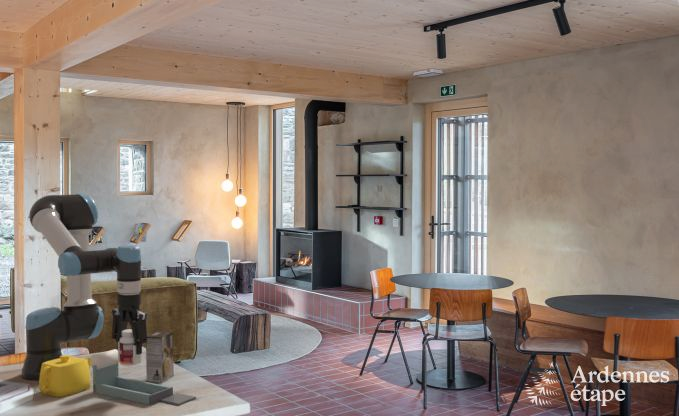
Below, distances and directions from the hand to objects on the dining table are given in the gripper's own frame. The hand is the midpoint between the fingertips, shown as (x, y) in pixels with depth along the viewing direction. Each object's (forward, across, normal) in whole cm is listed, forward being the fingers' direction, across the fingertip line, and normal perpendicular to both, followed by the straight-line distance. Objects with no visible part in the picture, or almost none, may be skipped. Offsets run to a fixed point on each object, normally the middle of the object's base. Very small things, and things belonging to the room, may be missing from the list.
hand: (129, 362), depth 242 cm
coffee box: (+11, -3, +18) cm, 21 cm away
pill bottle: (+1, 0, 0) cm, 1 cm away
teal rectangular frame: (+11, +2, 0) cm, 11 cm away
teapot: (+11, -21, -7) cm, 25 cm away
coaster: (+10, +19, +3) cm, 21 cm away
